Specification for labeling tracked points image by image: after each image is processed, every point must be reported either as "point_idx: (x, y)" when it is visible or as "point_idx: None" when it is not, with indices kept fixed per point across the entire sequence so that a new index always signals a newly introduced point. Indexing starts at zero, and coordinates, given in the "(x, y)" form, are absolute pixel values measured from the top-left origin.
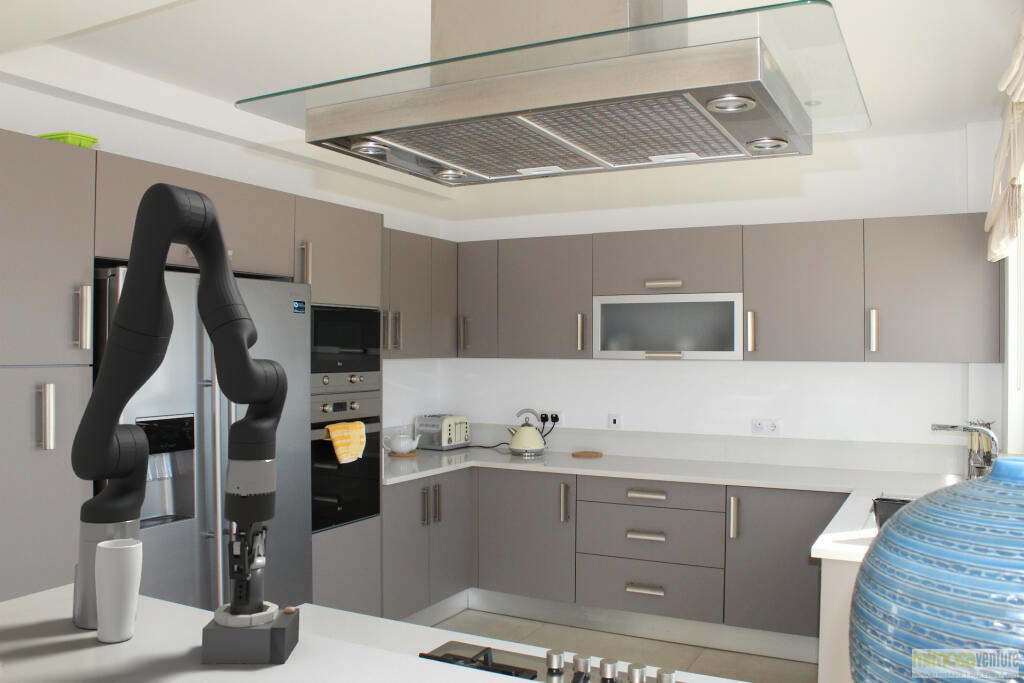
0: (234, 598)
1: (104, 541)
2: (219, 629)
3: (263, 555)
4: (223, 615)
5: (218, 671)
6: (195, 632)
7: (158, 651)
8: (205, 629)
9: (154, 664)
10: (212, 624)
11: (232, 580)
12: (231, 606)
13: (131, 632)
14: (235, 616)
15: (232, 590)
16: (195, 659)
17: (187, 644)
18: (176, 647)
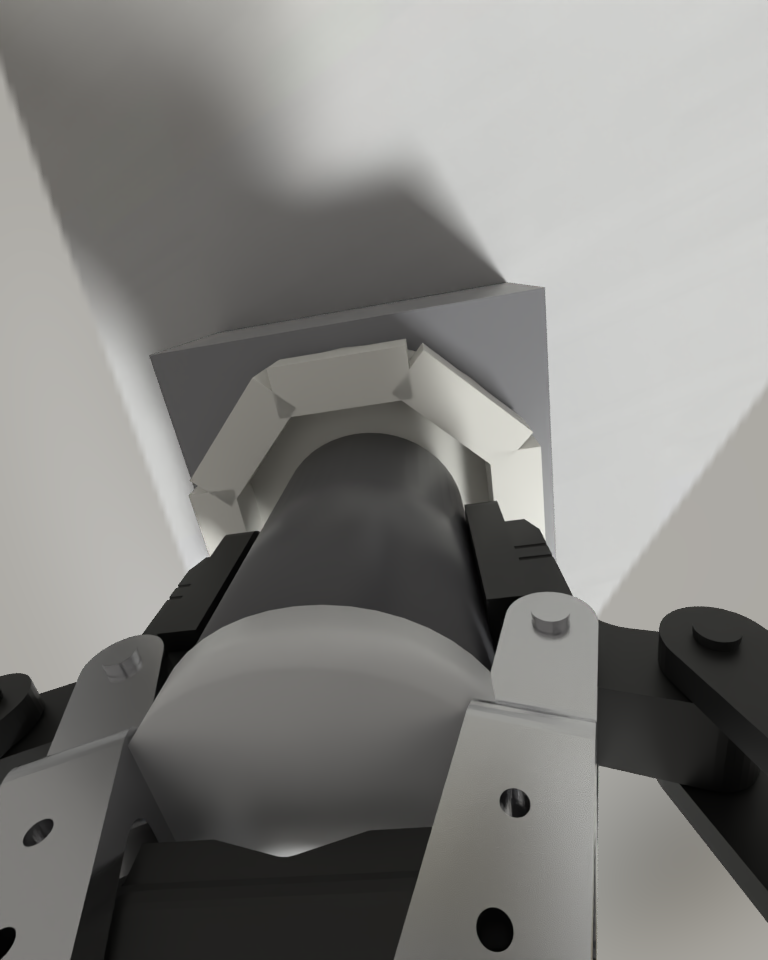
0: (216, 552)
1: None
2: (181, 442)
3: (706, 832)
4: (210, 459)
5: (167, 436)
6: (658, 40)
7: (316, 4)
8: (158, 370)
9: (146, 111)
10: (232, 374)
11: (242, 571)
12: (292, 478)
13: None
14: (212, 529)
15: (260, 533)
16: (257, 280)
17: (446, 116)
18: (392, 78)
